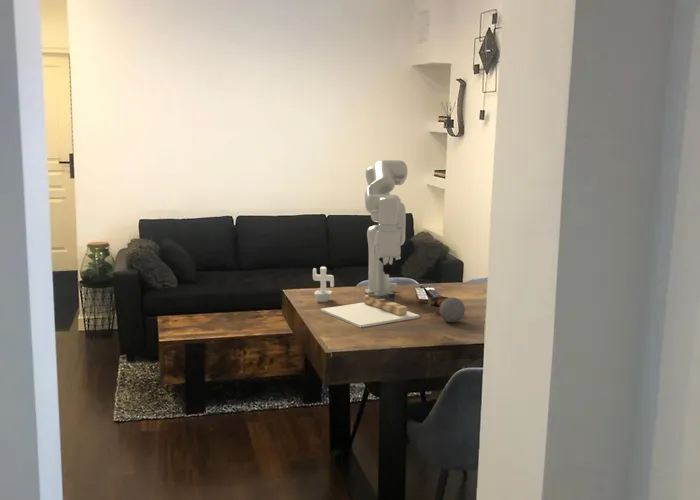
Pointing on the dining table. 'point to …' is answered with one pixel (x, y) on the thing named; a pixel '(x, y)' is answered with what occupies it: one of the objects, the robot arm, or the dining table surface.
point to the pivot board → (366, 314)
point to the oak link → (385, 304)
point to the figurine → (323, 284)
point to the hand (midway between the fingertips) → (386, 273)
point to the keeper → (385, 296)
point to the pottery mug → (438, 303)
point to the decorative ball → (452, 309)
